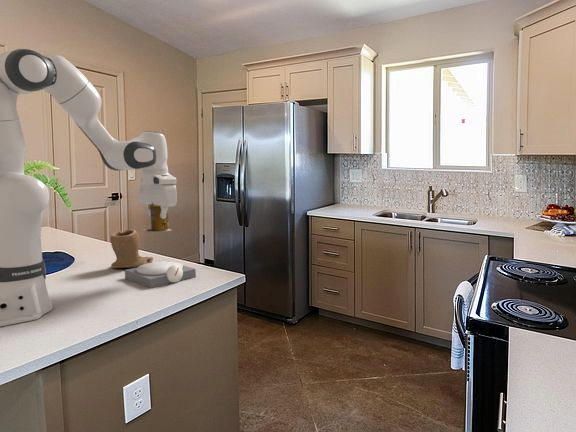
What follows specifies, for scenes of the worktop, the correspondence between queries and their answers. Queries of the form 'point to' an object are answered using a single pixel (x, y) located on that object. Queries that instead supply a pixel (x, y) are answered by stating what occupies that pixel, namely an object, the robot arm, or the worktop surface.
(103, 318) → the worktop surface
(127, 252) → the stone cup
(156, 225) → the condiment
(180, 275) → the scale
